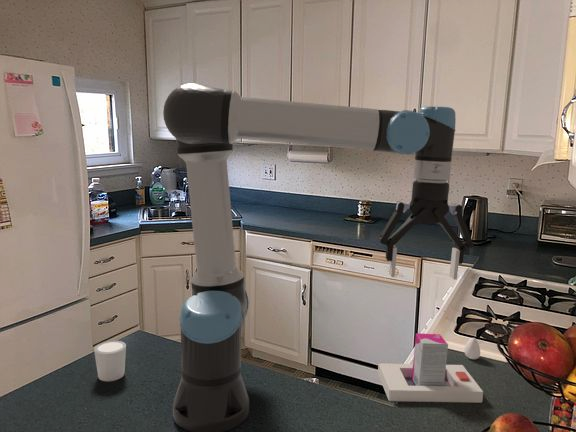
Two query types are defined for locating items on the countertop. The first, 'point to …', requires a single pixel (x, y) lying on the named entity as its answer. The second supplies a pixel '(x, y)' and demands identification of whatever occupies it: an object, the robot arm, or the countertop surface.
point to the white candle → (110, 360)
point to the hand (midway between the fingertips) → (422, 276)
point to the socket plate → (454, 390)
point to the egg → (472, 349)
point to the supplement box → (429, 360)
